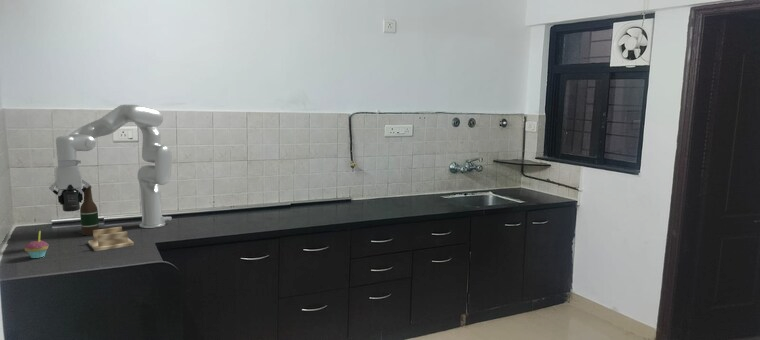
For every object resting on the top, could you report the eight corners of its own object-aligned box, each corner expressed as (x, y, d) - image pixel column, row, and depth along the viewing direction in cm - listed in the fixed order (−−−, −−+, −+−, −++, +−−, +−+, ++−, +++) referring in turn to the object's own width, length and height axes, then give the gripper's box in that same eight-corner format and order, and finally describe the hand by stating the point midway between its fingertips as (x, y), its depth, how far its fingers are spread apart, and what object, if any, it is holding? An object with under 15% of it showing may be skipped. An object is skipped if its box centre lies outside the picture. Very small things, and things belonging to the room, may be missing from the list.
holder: (125, 238, 263) (125, 225, 262) (134, 245, 250) (133, 231, 249) (88, 243, 253) (87, 230, 252) (94, 251, 240) (93, 237, 240)
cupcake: (53, 254, 235) (51, 227, 234) (42, 260, 227) (39, 231, 225) (33, 254, 235) (30, 227, 234) (20, 260, 227) (18, 232, 225)
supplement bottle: (83, 208, 252) (81, 182, 250) (74, 211, 245) (72, 185, 244) (68, 208, 252) (66, 182, 250) (59, 211, 245) (57, 185, 244)
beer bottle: (79, 236, 266) (76, 187, 263) (83, 232, 273) (80, 184, 270) (97, 235, 268) (94, 186, 265) (101, 231, 275) (97, 184, 272)
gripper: (88, 161, 254) (91, 199, 256) (44, 164, 244) (47, 204, 246) (90, 163, 248) (93, 202, 250) (45, 166, 238) (49, 207, 240)
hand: (70, 202), depth 248 cm, fingers closed on supplement bottle, 6 cm apart
